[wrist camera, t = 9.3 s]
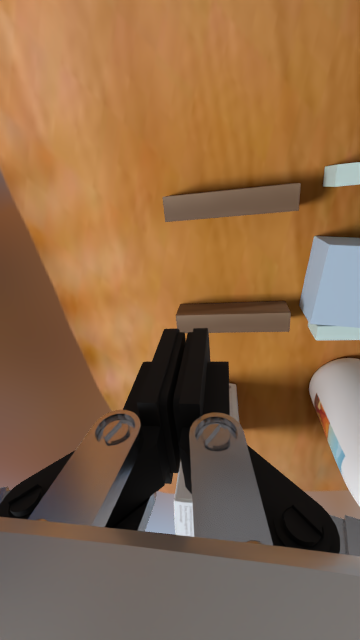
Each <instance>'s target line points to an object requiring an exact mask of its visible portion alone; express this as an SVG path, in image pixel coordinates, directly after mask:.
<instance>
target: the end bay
mask: <svg viewBox="0 0 360 640" xmlns="http://www.w3.org/2000/svg"><path fill="white" fill-rule="evenodd" d="M358 184H360V162H356V163H347V164H338V165H332V166H326V167H325V171H324V181H323V186H325V187H337V186H347V185H358ZM308 327H309V329H310V331H311V333H312V334H313V336H314V338H315V340H360V328H355V327H342V326H330V325H317V324H310V323H309V321H308Z"/></svg>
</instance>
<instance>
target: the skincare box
mask: <svg viewBox="0 0 360 640" xmlns="http://www.w3.org/2000/svg"><path fill="white" fill-rule="evenodd" d="M229 401H230V416H231V417H233V418H235V419H236V420H237V421H238V422H239V413H238V401H237V387H236V384H231V383H229ZM174 520H175V534H176V535H182V536H191V537H194V523H193V503H192V494H191V493H190V492H189V491H188V490H187V488H186V487H185V481H184V475H183V471H182V465H181V461H180V468H179V472H178V478H177V485H176V492H175V498H174Z"/></svg>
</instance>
